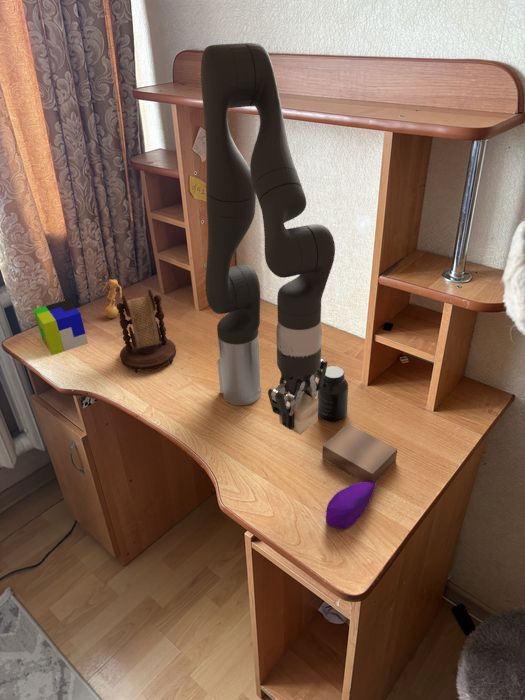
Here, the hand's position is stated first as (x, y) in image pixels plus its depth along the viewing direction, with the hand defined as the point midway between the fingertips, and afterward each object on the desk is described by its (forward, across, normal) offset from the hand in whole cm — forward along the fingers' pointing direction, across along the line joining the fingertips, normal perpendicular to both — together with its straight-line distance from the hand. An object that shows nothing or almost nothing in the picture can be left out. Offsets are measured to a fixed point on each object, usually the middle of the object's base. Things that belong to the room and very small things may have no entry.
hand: (298, 419), depth 100 cm
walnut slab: (+16, -12, +6) cm, 21 cm away
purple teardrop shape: (+16, 0, +13) cm, 20 cm away
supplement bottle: (+16, -20, -7) cm, 26 cm away
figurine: (+16, -14, -84) cm, 87 cm away
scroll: (+16, -7, -57) cm, 60 cm away
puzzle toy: (+16, +4, -83) cm, 85 cm away
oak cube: (+1, 0, 0) cm, 1 cm away
